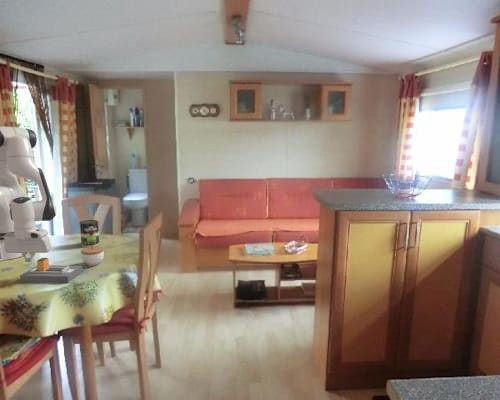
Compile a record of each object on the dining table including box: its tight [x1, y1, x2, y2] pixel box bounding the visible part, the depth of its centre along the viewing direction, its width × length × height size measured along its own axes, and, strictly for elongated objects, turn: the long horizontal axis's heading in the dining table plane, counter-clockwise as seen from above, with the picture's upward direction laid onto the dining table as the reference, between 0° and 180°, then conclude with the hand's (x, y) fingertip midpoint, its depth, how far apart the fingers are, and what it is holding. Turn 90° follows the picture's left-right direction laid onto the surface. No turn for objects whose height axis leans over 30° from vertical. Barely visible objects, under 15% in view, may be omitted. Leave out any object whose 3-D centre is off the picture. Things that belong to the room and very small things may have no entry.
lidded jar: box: [80, 245, 105, 267], centre depth 187 cm, size 11×11×9 cm
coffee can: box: [79, 219, 101, 248], centre depth 219 cm, size 10×10×14 cm
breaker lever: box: [36, 257, 50, 271], centre depth 170 cm, size 3×4×5 cm
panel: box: [19, 264, 84, 284], centre depth 171 cm, size 22×13×4 cm, turn 87°
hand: (29, 261), depth 170 cm, fingers closed
